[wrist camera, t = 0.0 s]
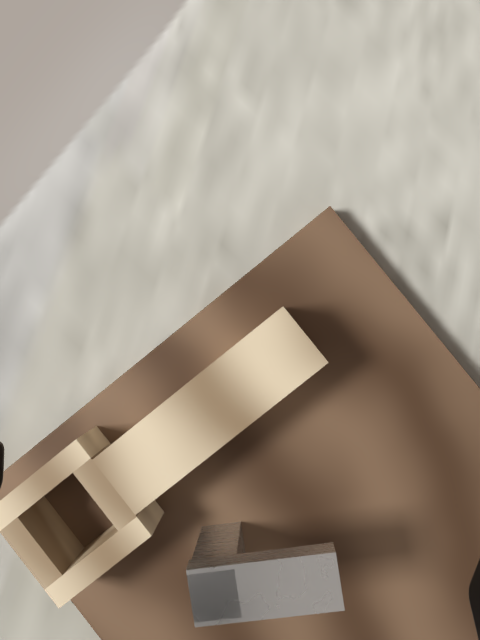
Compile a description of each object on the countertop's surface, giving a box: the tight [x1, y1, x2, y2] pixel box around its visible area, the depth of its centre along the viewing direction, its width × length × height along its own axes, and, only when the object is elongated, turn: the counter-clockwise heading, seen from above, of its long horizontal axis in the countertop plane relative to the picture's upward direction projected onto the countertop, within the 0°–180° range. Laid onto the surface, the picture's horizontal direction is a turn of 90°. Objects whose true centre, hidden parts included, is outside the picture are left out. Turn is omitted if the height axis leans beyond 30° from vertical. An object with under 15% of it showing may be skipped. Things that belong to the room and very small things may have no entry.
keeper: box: [186, 521, 345, 627], centre depth 21 cm, size 2×6×4 cm, turn 99°
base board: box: [0, 206, 480, 640], centre depth 21 cm, size 23×26×6 cm
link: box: [0, 307, 329, 608], centre depth 22 cm, size 17×6×2 cm, turn 129°
